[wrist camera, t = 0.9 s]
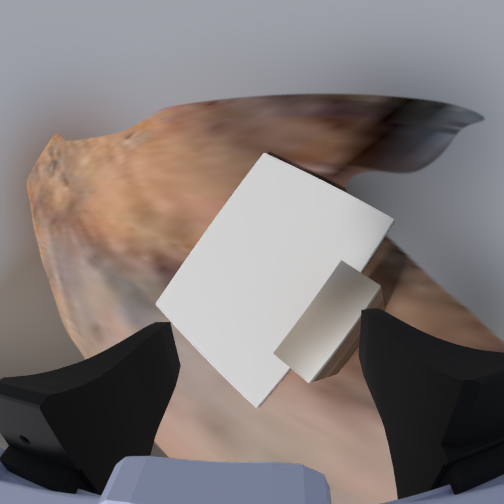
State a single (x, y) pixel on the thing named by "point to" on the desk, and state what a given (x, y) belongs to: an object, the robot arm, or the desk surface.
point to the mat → (266, 269)
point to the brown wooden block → (330, 325)
